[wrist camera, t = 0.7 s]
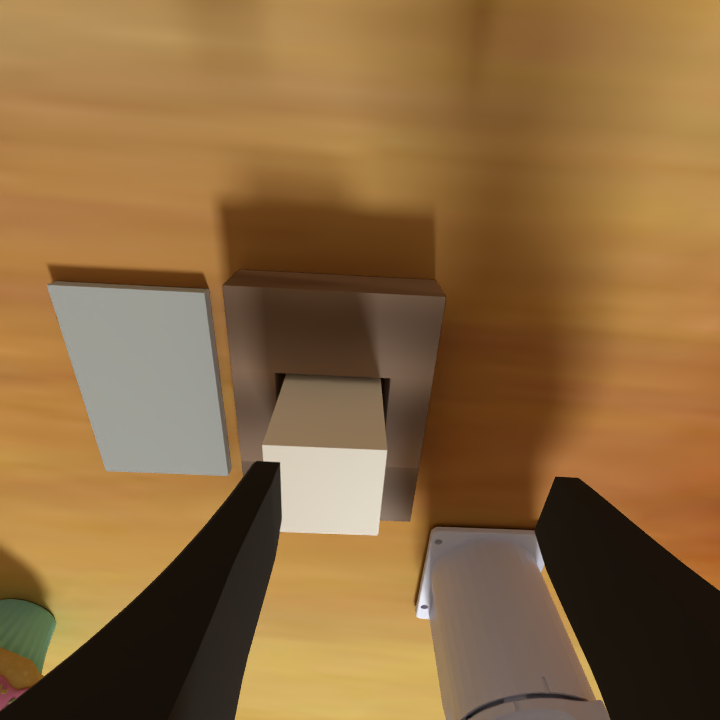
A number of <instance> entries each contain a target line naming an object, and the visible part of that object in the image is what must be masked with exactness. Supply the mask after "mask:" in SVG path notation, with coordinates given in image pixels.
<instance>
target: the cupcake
mask: <svg viewBox="0 0 720 720" xmlns="http://www.w3.org/2000/svg"><path fill="white" fill-rule="evenodd" d="M55 624H56V623H55V619H54V617H53V616H52V615H51V614H50V613H49V612H48V611H47V610H46V609H44V608H43V607H41V606H39V605H37V604H34V603H32V602H29V601H25V600H19V599H4V600H0V711H1V710H2V709H4V708H5V707H6V706H8V705H9V704H10V703H11V702H13V701H14V700H15V699H17V698H18V697H19V696H20V695H22V694H23V693H24V692H25V691H27V690H28V689H29V688H30V687H32V686H33V685H34V684H35V683H37V682H38V681H39V680H40V679H42V678H43V677H44V676H43V675H41V674H42V668H43V664H44V660H45V656H46V653H47V649H48V646H49V643H50V640H51V637H52V634H53V632H54V629H55Z"/></svg>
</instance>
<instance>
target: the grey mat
mask: <svg viewBox="0 0 720 720" xmlns="http://www.w3.org/2000/svg"><path fill="white" fill-rule="evenodd" d="M47 287H48V290H49V293H50V297H51V300H52V303H53V306H54V309H55V312H56V315H57V319H58V322H59V325H60V328H61V331H62V334H63V337H64V341H65V344H66V347H67V350H68V353H69V356H70V359H71V363H72V366H73V369H74V372H75V375H76V378H77V381H78V385H79V388H80V391H81V394H82V397H83V400H84V403H85V407H86V410H87V413H88V416H89V419H90V422H91V425H92V428H93V432H94V435H95V438H96V441H97V444H98V447H99V450H100V454H101V457H102V460H103V463H104V466H105V469H106V471H118V472H143V473H169V474H194V475H219V476H229V473H230V471H231V462H230V454H229V446H228V438H227V430H226V422H225V414H224V406H223V398H222V390H221V382H220V374H219V366H218V358H217V350H216V342H215V334H214V326H213V318H212V311H211V303H210V295H209V289H198V288H179V287H160V286H140V285H121V284H102V283H82V282H63V281H55V282H53V283H50V284H48V285H47Z"/></svg>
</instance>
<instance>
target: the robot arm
mask: <svg viewBox="0 0 720 720" xmlns="http://www.w3.org/2000/svg"><path fill="white" fill-rule="evenodd" d="M281 521H282V505H281V473H280V462H268V461H256V462H254V463H253V464H252V465H251V467H250V468H249V470H248V471H247V473H246V474H245V475H244V477H243V478H242V480H241V481H240V482H239V484H238V485H237V486H236V488H235V489H234V490H233V492H232V493H231V494H230V495H229V497H228V498H227V499H226V501H225V502H224V503H223V504H222V506H221V507H220V508H219V509H218V510H217V512H216V513H215V514H214V515H213V516H212V518H211V519H210V520H209V521H208V523H207V524H206V525H205V526H204V527H203V528H202V530H201V531H200V532H199V533H198V534H197V535H196V536H195V537H194V539H193V540H192V541H191V542H190V543H189V544H188V545H187V546H186V547H185V548H184V550H183V551H182V552H181V553H180V554H179V555H178V556H177V557H176V558H175V559H174V561H173V562H172V563H171V564H170V565H169V566H168V567H167V568H166V569H165V570H164V571H163V572H162V573H161V574H160V575H159V576H158V577H157V578H156V579H155V580H154V581H153V582H152V583H151V584H150V585H149V586H148V587H147V588H146V589H145V590H144V591H143V592H142V593H140V594H139V595H138V596H137V597H136V598H135V599H134V600H133V601H132V602H131V603H130V604H129V605H128V606H127V607H126V608H124V609H123V610H122V611H121V612H120V613H119V614H118V615H117V616H116V617H114V618H113V619H112V620H111V621H110V622H109V623H108V624H107V625H105V626H104V627H103V628H102V629H101V630H100V631H99V632H98V633H97V634H95V635H94V636H93V637H92V638H91V639H90V640H88V641H87V642H86V643H85V644H84V645H83V646H81V647H80V648H79V649H78V650H77V651H75V652H74V653H73V654H72V655H71V656H69V657H68V658H67V659H66V660H64V661H63V662H62V663H61V664H59V665H58V666H57V667H55V668H54V669H53V670H52V671H50V672H49V673H48V674H47V675H45V676H44V677H43V678H42V679H40V680H39V681H38V682H37V683H35V684H34V685H33V686H32V687H30V688H29V689H28V690H27V691H25V692H24V693H23V694H22V695H20V696H19V697H18V698H17V699H15V700H14V701H13V702H11V703H10V704H9V705H8V706H6V707H5V708H4V709H2V710H1V711H0V720H235V715H236V710H237V704H238V699H239V694H240V689H241V684H242V679H243V675H244V671H245V667H246V662H247V658H248V654H249V651H250V647H251V644H252V640H253V636H254V633H255V629H256V626H257V622H258V618H259V615H260V611H261V608H262V604H263V601H264V597H265V593H266V590H267V586H268V583H269V579H270V575H271V572H272V568H273V564H274V561H275V556H276V551H277V545H278V539H279V533H280V527H281ZM544 564H545V567H546V570H547V572H548V575H549V577H550V579H551V582H552V584H553V586H554V588H555V591H556V593H557V595H558V597H559V600H560V602H561V604H562V606H563V609H564V611H565V613H566V615H567V617H568V620H569V622H570V624H571V626H572V628H573V630H574V633H575V635H576V637H577V639H578V641H579V644H580V646H581V648H582V650H583V652H584V655H585V657H586V659H587V661H588V663H589V666H590V668H591V670H592V673H593V675H594V677H595V680H596V682H597V685H598V687H599V690H600V692H601V695H602V697H603V700H604V703H605V706H606V708H605V706H604V704H603V702H602V701H601V700H596V698H595V696H594V694H593V692H592V689H591V687H590V685H589V682H588V680H587V678H586V675H585V673H584V671H583V669H582V666H581V664H580V662H579V659H578V657H577V655H576V653H575V650H574V648H573V646H572V643H571V641H570V639H569V636H568V634H567V632H566V630H565V627H564V625H563V623H562V620H561V618H560V616H559V614H558V611H557V609H556V607H555V604H554V602H553V600H552V597H551V595H550V593H549V591H548V588H547V586H546V584H545V581H544V579H543V577H542V574H541V572H542V569H543V567H544ZM415 611H416V616H417V617H418V618H421V619H430V625H431V632H432V639H433V645H434V652H435V658H436V665H437V672H438V678H439V685H440V691H441V698H442V705H443V709H444V713H445V717H446V720H720V591H719V590H718V589H716V588H715V587H714V586H712V585H711V584H710V583H708V582H707V581H706V580H704V579H703V578H702V577H700V576H699V575H698V574H696V573H695V572H694V571H693V570H691V569H690V568H689V567H687V566H686V565H685V564H683V563H682V562H681V561H680V560H678V559H677V558H676V557H675V556H673V555H672V554H671V553H670V552H668V551H667V550H666V549H665V548H663V547H662V546H661V545H660V544H658V543H657V542H656V541H655V540H653V539H652V538H651V537H650V536H649V535H647V534H646V533H645V532H644V531H642V530H641V529H640V528H639V527H638V526H636V525H635V524H634V523H633V522H632V521H630V520H629V519H628V518H627V517H626V516H624V515H623V514H622V513H621V512H620V511H618V510H617V509H616V508H615V507H614V506H613V505H611V504H610V503H609V502H608V501H607V500H605V499H604V498H603V497H602V496H600V495H599V494H598V493H597V492H596V491H594V490H593V489H592V488H591V487H589V486H588V485H587V484H586V483H584V482H583V481H582V480H580V479H579V478H570V477H555V479H554V482H553V484H552V487H551V489H550V492H549V495H548V497H547V500H546V502H545V505H544V507H543V510H542V513H541V515H540V518H539V520H538V523H537V525H536V528H535V530H514V529H487V528H460V527H435V528H433V529H432V531H431V534H430V539H429V544H428V549H427V554H426V559H425V564H424V569H423V574H422V579H421V584H420V589H419V594H418V599H417V604H416V609H415ZM606 709H607V710H606ZM607 711H608V713H607ZM608 714H609V715H608Z"/></svg>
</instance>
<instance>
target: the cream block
mask: <svg viewBox="0 0 720 720" xmlns="http://www.w3.org/2000/svg"><path fill="white" fill-rule="evenodd" d="M262 450H263V461H268V462H280V473H281V505H282V521H281V527H280V532H298V533H325V534H353V535H378V531H379V521H380V512H381V503H382V494H383V485H384V476H385V467H386V457H387V442H386V431H385V421H384V410H383V399H382V389H381V378H375V377H353V376H332V375H310V374H289V373H286V376H285V379H284V382H283V385H282V388H281V391H280V394H279V397H278V400H277V403H276V406H275V408H274V411H273V414H272V417H271V420H270V423H269V426H268V429H267V432H266V435H265V438H264V441H263V444H262Z"/></svg>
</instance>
